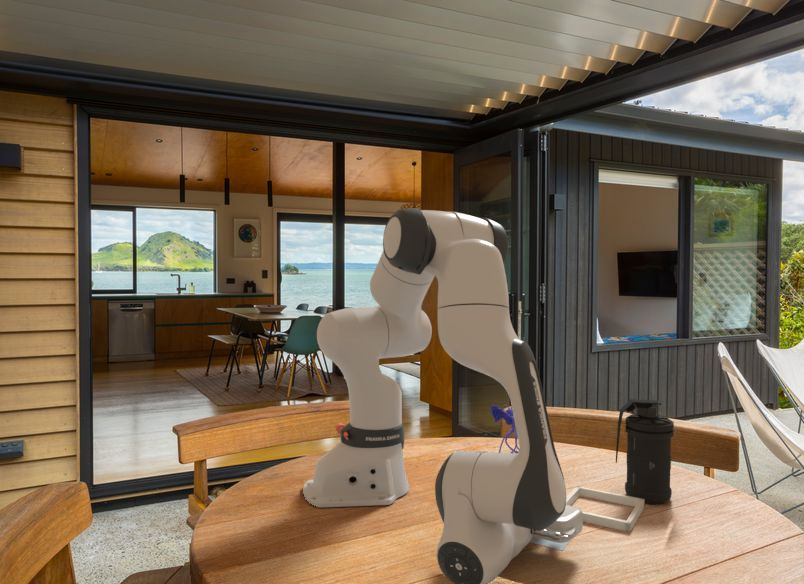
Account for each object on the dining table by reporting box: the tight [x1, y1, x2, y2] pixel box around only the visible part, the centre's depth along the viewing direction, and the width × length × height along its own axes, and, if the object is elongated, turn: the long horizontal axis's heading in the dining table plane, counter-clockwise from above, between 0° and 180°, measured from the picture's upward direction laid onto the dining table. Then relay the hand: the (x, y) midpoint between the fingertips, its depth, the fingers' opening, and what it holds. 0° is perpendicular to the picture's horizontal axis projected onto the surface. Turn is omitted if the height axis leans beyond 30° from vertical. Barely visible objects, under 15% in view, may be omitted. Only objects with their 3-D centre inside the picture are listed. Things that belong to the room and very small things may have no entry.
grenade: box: [615, 398, 675, 505], centre depth 125 cm, size 9×11×20 cm
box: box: [566, 485, 646, 533], centre depth 114 cm, size 13×13×3 cm
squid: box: [484, 403, 520, 454], centre depth 155 cm, size 14×35×18 cm
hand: (534, 496), depth 107 cm, fingers open, 8 cm apart
